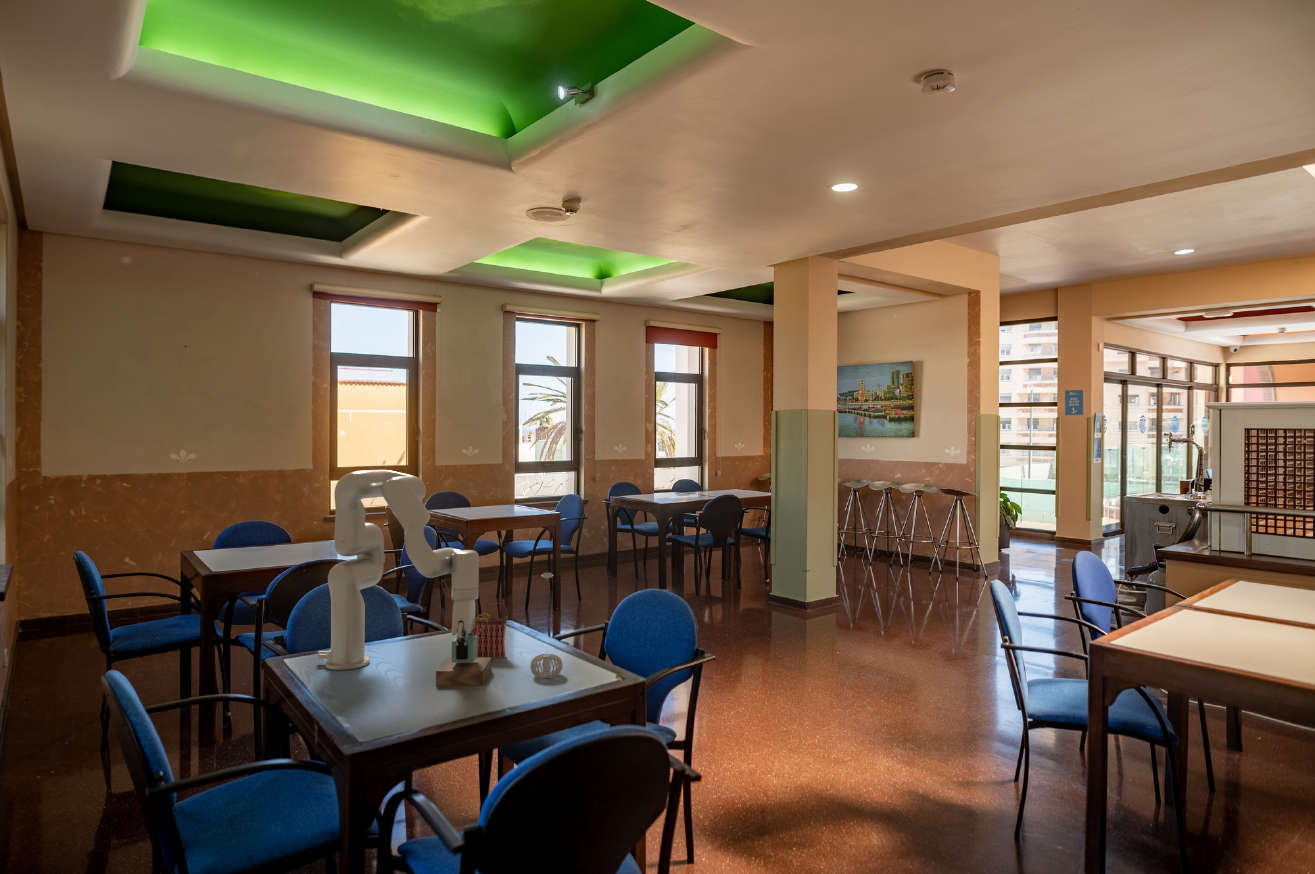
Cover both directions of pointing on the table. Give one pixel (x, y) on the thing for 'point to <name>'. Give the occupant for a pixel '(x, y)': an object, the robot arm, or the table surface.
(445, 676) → the walnut plinth
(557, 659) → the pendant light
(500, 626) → the handbag
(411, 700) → the table surface
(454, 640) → the teal block
